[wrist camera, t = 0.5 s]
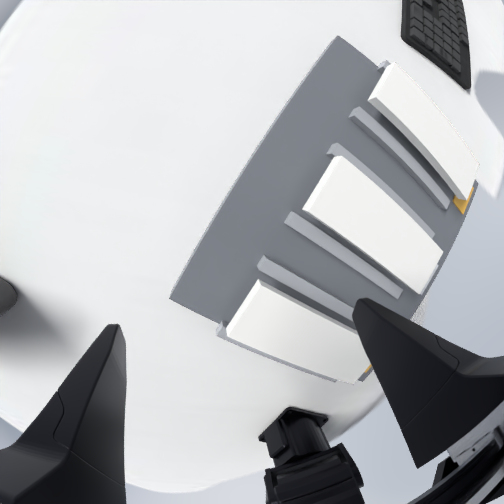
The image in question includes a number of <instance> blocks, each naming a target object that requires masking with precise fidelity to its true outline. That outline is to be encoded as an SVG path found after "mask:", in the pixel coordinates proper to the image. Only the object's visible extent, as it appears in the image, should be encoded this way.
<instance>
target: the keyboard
mask: <svg viewBox="0 0 504 504" xmlns="http://www.w3.org/2000/svg"><path fill="white" fill-rule="evenodd" d="M401 38H402V40H403V41H404V42H406V43H407V44H409V45H410V46H412V47H413V48H414V49H416V50H417V51H419V52H420V53H421V54H423V55H424V56H425V57H427V58H428V59H429V60H431V61H432V62H433V63H435V64H436V65H437V66H438V67H440V68H441V69H442V70H443V71H444V72H446V73H447V74H448V75H449V76H450V77H451V78H453V79H454V80H455V81H456V82H457V83H458V84H459V85H460V86H462V87H463V88H464V89H469V88H471V68H470V52H469V40H468V32H467V25H466V18H465V13H464V7H463V2H462V0H402V24H401Z"/></svg>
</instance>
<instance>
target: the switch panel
mask: <svg viewBox="0 0 504 504" xmlns="http://www.w3.org/2000/svg"><path fill="white" fill-rule="evenodd" d="M389 65H391V64H390V63H389V62H388V61H387V60H386V61H384V62H382V63H381V64H380V65H379V67H378V66H376V65H375V64H374V63H373V62H372V61H371V60H369V59H368V58H367V57H366V56H364V55H363V54H362V53H361V52H359V51H358V50H357V49H356V48H354V47H353V46H352V45H350V44H349V43H348V42H346V41H345V40H344V39H342V38H341V37H340V36H337V37H336V38H335V39H334V40H333V41H332V42H331V43H330V44H329V45H328V47H327V48H326V49H325V51H324V52H323V53H322V55H321V56H320V57H319V59H318V60H317V61H316V63H315V64H314V65H313V67H312V68H311V70H310V71H309V72H308V74H307V75H306V76H305V78H304V79H303V81H302V82H301V83H300V85H299V86H298V88H297V89H296V90H295V92H294V93H293V95H292V96H291V98H290V99H289V100H288V102H287V103H286V105H285V106H284V108H283V109H282V111H281V112H280V113H279V115H278V116H277V118H276V119H275V121H274V122H273V124H272V125H271V127H270V128H269V130H268V131H267V133H266V134H265V136H264V137H263V139H262V140H261V142H260V143H259V145H258V146H257V148H256V150H255V151H254V153H253V154H252V156H251V157H250V159H249V160H248V162H247V164H246V165H245V167H244V168H243V170H242V171H241V173H240V175H239V176H238V178H237V179H236V181H235V183H234V184H233V186H232V187H231V189H230V191H229V192H228V194H227V196H226V197H225V199H224V201H223V202H222V204H221V205H220V207H219V209H218V210H217V212H216V214H215V215H214V217H213V219H212V221H211V222H210V224H209V226H208V227H207V229H206V231H205V232H204V234H203V236H202V238H201V239H200V241H199V243H198V245H197V246H196V248H195V250H194V252H193V253H192V255H191V257H190V259H189V260H188V262H187V264H186V266H185V268H184V269H183V271H182V273H181V275H180V277H179V278H178V280H177V282H176V284H175V286H174V288H173V289H172V291H171V294H170V298H169V299H171V300H173V301H174V302H176V303H178V304H180V305H182V306H184V307H186V308H188V309H190V310H192V311H194V312H196V313H198V314H200V315H202V316H204V317H206V318H208V319H210V320H212V321H214V322H217V323H219V326H218V327H217V329H216V335H217V336H218V337H220V338H222V339H224V340H227V341H229V342H231V343H233V344H236V345H238V346H240V347H243V348H245V349H247V350H250V351H252V352H255V353H257V354H259V355H262V356H264V357H267V358H269V359H272V360H274V361H277V362H280V363H282V364H285V365H287V366H290V367H293V368H295V369H298V370H301V371H304V372H306V373H309V374H312V375H315V376H318V377H321V378H324V379H327V380H330V381H333V382H336V381H337V380H336V379H334V378H331V377H328V376H325V375H322V374H319V373H316V372H313V371H311V370H308V369H305V368H303V367H300V366H297V365H295V364H292V363H289V362H287V361H284V360H282V359H279V358H277V357H274V356H272V355H269V354H267V353H264V352H262V351H259V350H257V349H255V348H252V347H250V346H248V345H245V344H243V343H241V342H238V341H236V340H234V339H232V338H229V337H227V330H226V328H227V326H228V325H229V323H230V322H231V320H232V319H233V317H234V315H235V314H236V312H237V311H238V309H239V308H240V306H241V305H242V303H243V302H244V300H245V299H246V297H247V295H248V294H249V292H250V291H251V289H252V288H253V286H254V285H255V283H256V281H257V280H258V279H259V280H261V281H263V282H265V283H267V284H269V285H270V286H272V287H274V288H276V289H278V290H280V291H282V292H283V293H285V294H287V295H289V296H291V297H293V298H295V299H297V300H298V301H300V302H302V303H304V304H306V305H308V306H310V307H312V308H314V309H315V310H317V311H319V312H321V313H323V314H325V315H327V316H329V317H331V318H333V319H335V320H337V321H338V322H340V323H342V324H344V325H346V326H348V327H350V328H352V329H354V330H356V327H355V325H354V322H353V319H352V313H353V310H354V307H355V304H356V301H357V300H358V299H359V298H364V297H367V298H370V299H371V300H373V301H375V302H377V303H379V304H381V305H383V306H384V307H386V308H388V309H390V310H392V311H394V312H396V313H397V314H399V315H401V316H403V317H405V318H407V319H408V320H410V318H411V317H412V315H413V314H414V312H415V311H416V309H417V308H418V306H419V305H420V303H421V301H422V300H423V298H424V296H425V295H426V293H427V291H428V290H429V288H430V286H431V285H432V283H433V281H434V279H435V278H436V276H437V274H438V272H439V270H440V268H441V267H442V265H443V263H444V261H445V259H446V257H447V255H448V253H449V251H450V249H451V247H452V245H453V243H454V241H455V239H456V237H457V235H458V233H459V231H460V228H461V226H462V224H463V222H464V219H465V217H466V214H467V212H468V210H469V207H470V205H471V202H472V200H473V197H474V195H475V192H476V189H477V186H478V183H477V181H476V180H475V181H474V183H473V186H472V189H471V191H470V194H469V196H468V199H467V200H462V199H458V198H457V197H456V195H455V194H454V193H453V191H452V190H451V189H450V187H449V186H448V185H447V183H446V182H445V181H444V180H443V178H442V177H441V176H440V175H439V173H438V172H437V171H436V170H435V169H434V167H433V166H432V165H431V164H430V163H429V162H428V160H427V159H426V158H425V157H424V156H423V155H422V154H421V152H420V151H419V150H418V149H417V148H416V147H415V146H414V145H413V144H412V143H411V142H410V141H409V140H408V139H407V137H406V136H405V135H404V134H403V133H402V132H401V131H400V130H399V129H398V128H397V127H396V126H395V125H394V124H393V123H391V122H390V121H389V120H388V119H387V118H386V117H385V116H384V115H383V114H382V113H381V112H380V111H379V110H378V109H376V108H375V107H374V106H373V105H372V104H371V103H370V102H369V101H367V100H368V99H369V97H370V95H371V93H372V92H373V90H374V88H375V87H376V85H377V83H378V81H379V80H380V78H381V76H382V74H383V73H384V71H385V69H386V67H387V66H389ZM336 156H343V157H344V158H345V159H347V160H348V161H349V162H350V163H352V164H353V165H354V166H355V167H356V168H358V169H359V170H360V171H361V172H362V173H363V174H365V175H366V176H367V177H368V178H369V179H370V180H372V181H373V182H374V183H375V184H376V185H377V186H378V187H380V188H381V189H382V190H383V191H384V192H385V193H386V194H387V195H388V196H389V197H390V198H392V199H393V200H394V201H395V202H396V203H397V204H398V205H399V206H400V207H401V208H402V209H403V210H404V211H405V212H406V213H407V214H408V215H409V216H410V217H411V218H412V219H413V220H414V221H415V222H416V223H417V224H418V225H419V226H420V227H421V228H422V229H423V230H424V231H425V232H426V233H427V234H428V235H429V236H430V238H431V239H432V240H433V241H434V242H435V243H436V244H437V245H438V246H439V247H440V248H441V250H442V251H443V254H442V256H441V257H440V259H439V261H438V263H437V265H436V267H435V269H434V270H433V272H432V274H431V276H430V277H429V279H428V281H427V283H426V284H425V286H424V288H423V289H422V291H421V293H420V294H417V293H416V292H414V291H412V290H411V289H410V288H408V287H407V286H406V285H405V284H403V283H402V282H401V281H400V280H398V279H397V278H396V277H395V276H393V275H392V274H391V273H389V272H388V271H387V270H386V269H384V268H383V267H382V266H380V265H379V264H378V263H376V262H375V261H374V260H372V259H371V258H370V257H368V256H367V255H366V254H364V253H363V252H362V251H360V250H359V249H358V248H356V247H355V246H354V245H352V244H351V243H349V242H348V241H347V240H345V239H344V238H342V237H341V236H340V235H338V234H337V233H335V232H334V231H333V230H331V229H330V228H328V227H327V226H325V225H324V224H323V223H321V222H320V221H318V220H317V219H315V218H314V217H312V216H311V215H310V214H308V213H307V212H305V211H304V210H302V209H303V207H304V205H305V204H306V202H307V200H308V199H309V197H310V196H311V194H312V192H313V191H314V189H315V187H316V186H317V184H318V183H319V181H320V179H321V178H322V176H323V174H324V173H325V171H326V169H327V168H328V166H329V164H330V163H331V161H332V159H333V158H334V157H336ZM356 331H357V330H356ZM372 370H373V367H372V365H371V364H370V365H369V367H368V368H367V369H366V370H365V372H364V373H363V374H362V375H361V376H360V378H359V379H358V380H359V381H362V382H363V381H364V380H365V378H366V377H367V376H368V375H369V374H370V372H371V371H372Z"/></svg>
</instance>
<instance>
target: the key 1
mask: <svg viewBox="0 0 504 504" xmlns="http://www.w3.org/2000/svg"><path fill="white" fill-rule="evenodd" d="M226 330H227V337H229V338H232V339H234V340H236V341H238V342H241V343H243V344H245V345H248V346H250V347H252V348H255V349H257V350H259V351H262V352H264V353H267V354H269V355H272V356H274V357H277V358H279V359H282V360H284V361H287V362H289V363H292V364H295V365H297V366H300V367H303V368H305V369H308V370H311V371H313V372H316V373H319V374H322V375H325V376H328V377H331V378H334V379H336V380H339V381H343V382H346V383H349V384H352V385H354V383H355V382H356V381H357V380H358V379H359V378H360V376H361V375H362V374H363V373H364V372H365V370H366V369H367V368H368V367H369V365H370V364H371V363H370V361H369V359H368V357H367V355H366V353H365V351H364V348H363V346H362V343H361V341H360V338H359V335H358V333H357V331H356V330H354V329H352V328H350V327H348V326H346V325H344V324H342V323H340V322H338V321H337V320H335V319H333V318H331V317H329V316H327V315H325V314H323V313H321V312H319V311H317V310H315V309H314V308H312V307H310V306H308V305H306V304H304V303H302V302H300V301H298V300H297V299H295V298H293V297H291V296H289V295H287V294H285V293H283V292H282V291H280V290H278V289H276V288H274V287H272V286H270V285H269V284H267V283H265V282H263V281H261V280H259V279H258V280H257V281H256V283H255V285H254V286H253V288H252V289H251V291H250V292H249V294H248V295H247V297H246V299H245V300H244V302H243V303H242V305H241V306H240V308H239V309H238V311H237V312H236V314H235V315H234V317H233V319H232V320H231V322H230V323H229V325H228V326H227V328H226Z"/></svg>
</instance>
